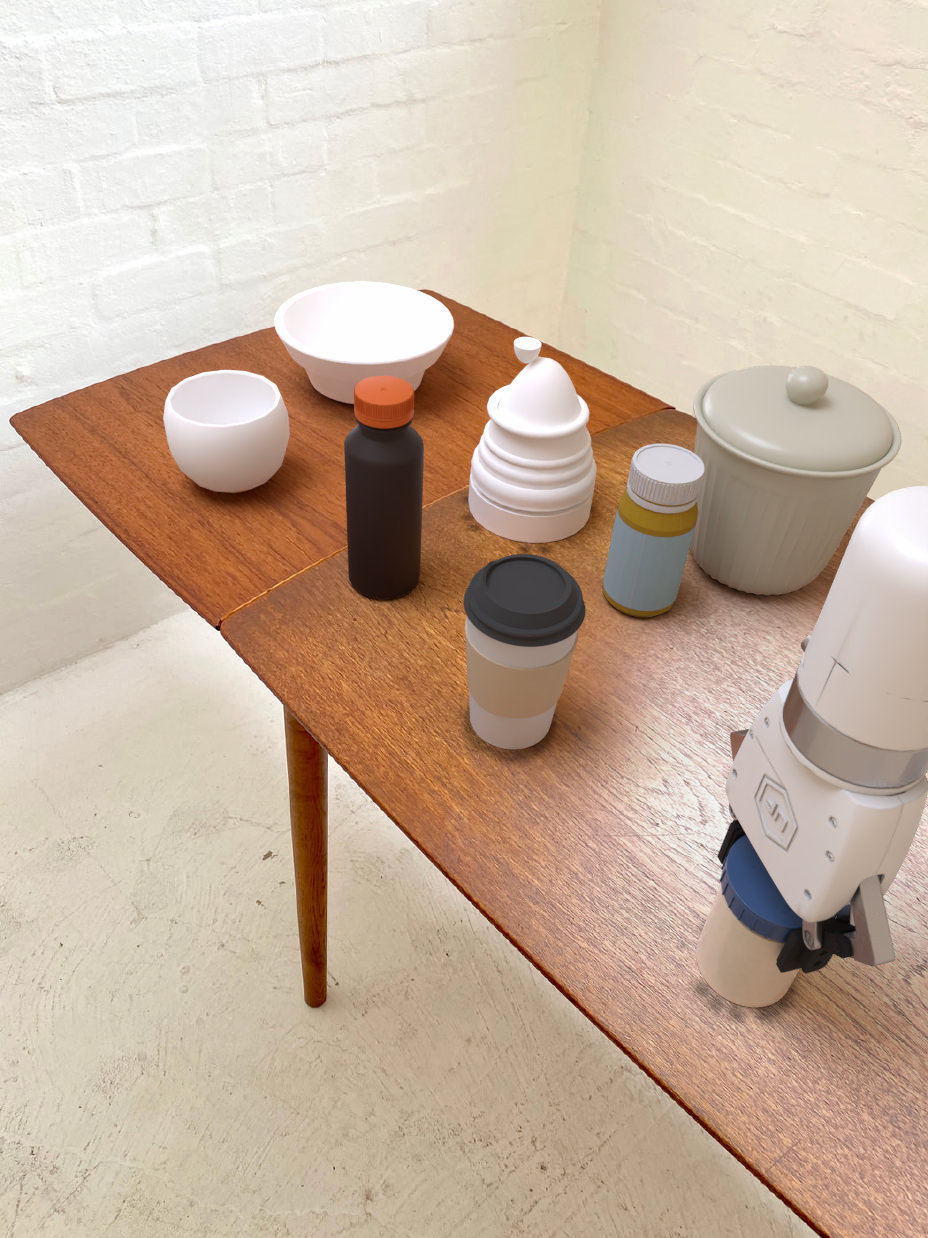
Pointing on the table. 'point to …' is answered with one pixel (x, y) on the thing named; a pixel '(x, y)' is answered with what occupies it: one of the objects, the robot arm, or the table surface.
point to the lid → (756, 894)
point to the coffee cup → (519, 646)
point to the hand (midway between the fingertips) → (769, 907)
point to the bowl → (363, 334)
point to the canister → (782, 472)
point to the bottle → (653, 530)
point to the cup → (227, 429)
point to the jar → (740, 959)
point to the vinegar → (384, 489)
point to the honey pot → (534, 455)
